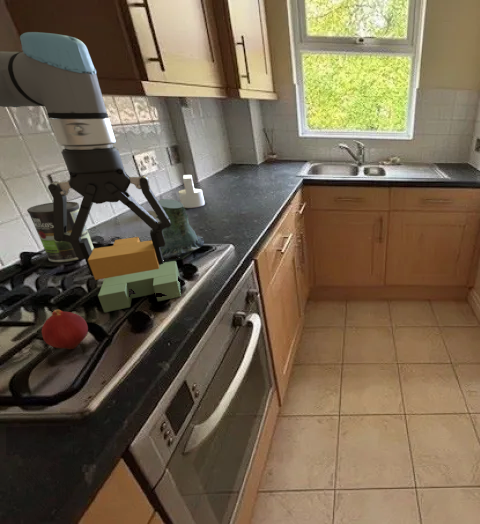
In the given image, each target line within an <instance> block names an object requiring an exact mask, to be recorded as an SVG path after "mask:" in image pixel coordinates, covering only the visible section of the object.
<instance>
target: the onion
mask: <svg viewBox="0 0 480 524" xmlns="http://www.w3.org/2000/svg"><path fill="white" fill-rule="evenodd" d="M88 332H89V326H88V323H87V321H86V320H85V319H84V317H83V316H81V315H79V314H77V313H74V312H71V311H63V310H61V309H54V310H53V311H52V313H51V315H50V316H49V317H48V318H46V320H45V321H44V323H43V325H42V327H41V336H42V339H43V342H45V343H46V345H48V346H50V347H52V348H55V349H66V350H75V349H76V348H77V347H78V346H79V345H80V344H81V343H82V342H83V341H84V340H85V338H86V337H87V335H88Z"/></svg>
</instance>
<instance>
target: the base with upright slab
mask: <svg viewBox="0 0 480 524" xmlns="http://www.w3.org/2000/svg"><path fill="white" fill-rule="evenodd" d="M182 181H183V185H184V189H181V190H179V191H177V192H178V196H179V202H181V203H182V204H183V206H184V208H185V209H194V208H200V207H203V206H205V205H206V202H205V198H204V193H203V189H201V188H195V186H194V180H193V176H192V174H183V176H182Z"/></svg>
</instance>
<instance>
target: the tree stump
mask: <svg viewBox="0 0 480 524" xmlns="http://www.w3.org/2000/svg"><path fill="white" fill-rule="evenodd" d="M158 201H159V203H160V205H161V206H162V208H163V209H164V211H165V213H166V214H167V216H168V217H169V219H170V221H171V225H170V227H168V228H165V229H163V230H162V232H163V236H164V239H165V246H164V247H160V249H161V252H162V256H163V260H164V261H163V263H165V262H171V261H180V260H184V259H185V258H187V257H188V256H190V255H191V254H193V252H195V251H197V250H199V249H200V248H202V247H203V246H204V244H205V241H204V237H203V236H199V235H197V233H196V231H195V230H194V229H193V227H192V226H191V224H190V222H189V215H188V214H187V209H186V208H184V206H183V204H182V203H181V201H180V200H176V199H170V198H163V199H159V200H158ZM155 219H158V222H160V219H159V218H158V216H157V215H156V217H155ZM175 256H177V257H180V258H178V259H169V258H171V257H175Z"/></svg>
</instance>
